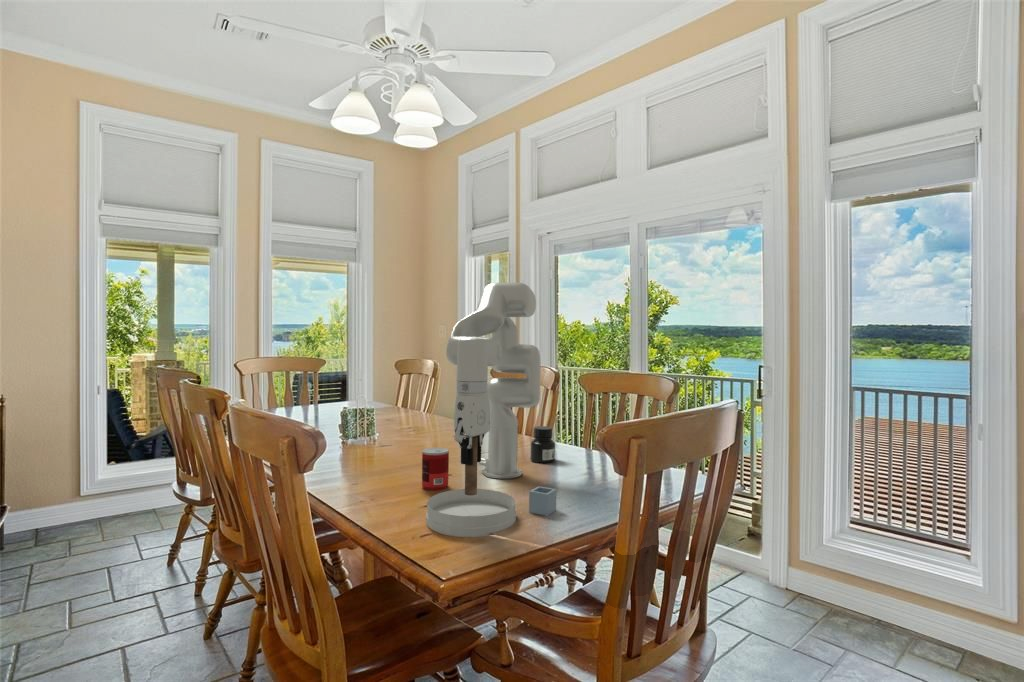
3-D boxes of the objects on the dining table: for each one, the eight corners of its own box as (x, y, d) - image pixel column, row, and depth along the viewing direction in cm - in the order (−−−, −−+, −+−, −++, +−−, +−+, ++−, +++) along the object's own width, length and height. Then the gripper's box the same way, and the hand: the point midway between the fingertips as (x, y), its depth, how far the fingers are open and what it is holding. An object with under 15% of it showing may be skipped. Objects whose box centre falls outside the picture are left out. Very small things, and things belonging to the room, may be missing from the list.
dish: (440, 544, 121) (440, 521, 121) (416, 512, 141) (416, 493, 141) (531, 530, 129) (531, 509, 129) (496, 503, 150) (496, 485, 150)
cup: (529, 514, 140) (529, 491, 140) (538, 508, 144) (538, 486, 144) (547, 518, 137) (547, 494, 137) (556, 512, 142) (556, 489, 142)
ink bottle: (549, 465, 192) (549, 431, 192) (526, 462, 196) (526, 428, 196) (558, 459, 201) (559, 426, 201) (536, 456, 205) (537, 424, 205)
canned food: (453, 485, 166) (453, 448, 165) (438, 492, 158) (439, 454, 158) (431, 481, 169) (432, 446, 169) (416, 488, 162) (417, 451, 161)
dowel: (462, 494, 134) (463, 437, 134) (469, 491, 137) (469, 435, 136) (472, 496, 132) (473, 438, 132) (479, 493, 135) (479, 436, 135)
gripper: (466, 391, 125) (465, 472, 126) (501, 386, 140) (500, 458, 140) (439, 389, 129) (438, 467, 129) (477, 384, 143) (476, 455, 143)
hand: (470, 462), depth 134 cm, fingers closed on dowel, 3 cm apart
